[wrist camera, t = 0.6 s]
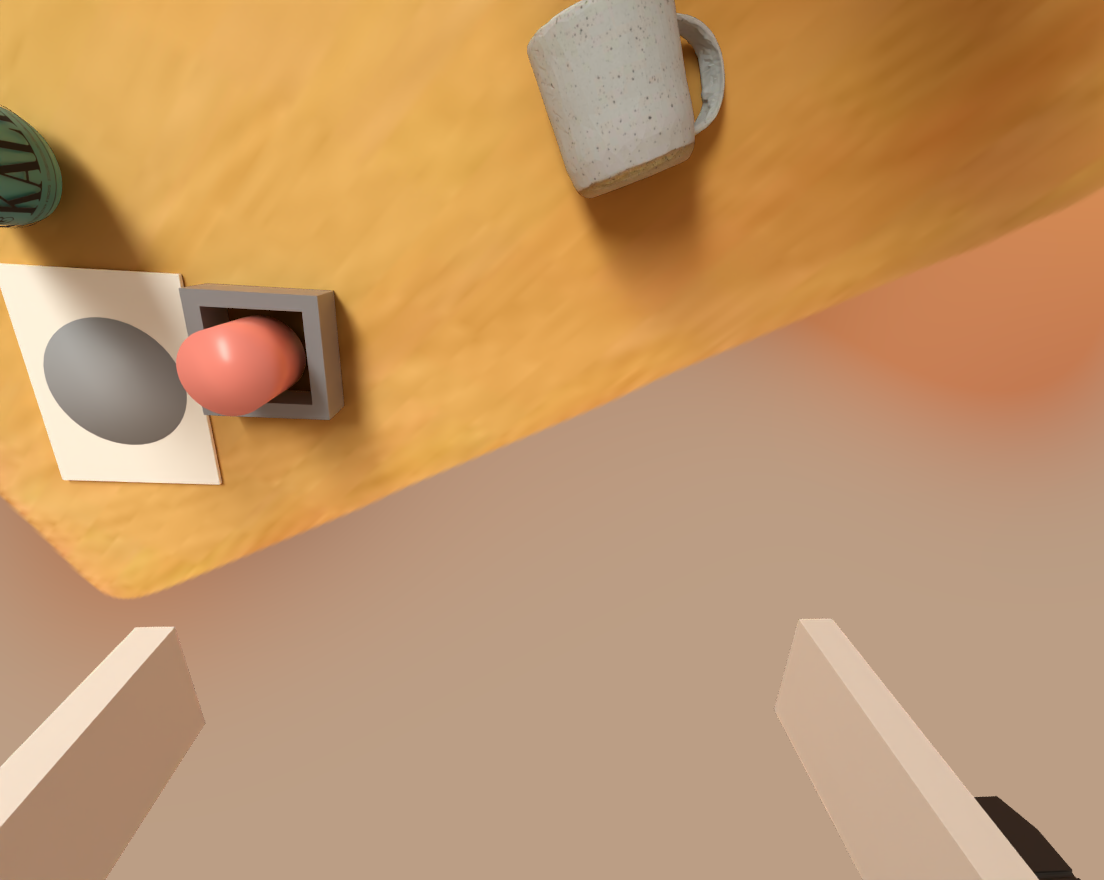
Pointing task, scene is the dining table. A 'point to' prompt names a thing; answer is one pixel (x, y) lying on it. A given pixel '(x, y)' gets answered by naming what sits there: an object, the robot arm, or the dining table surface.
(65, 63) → the dining table surface
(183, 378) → the button
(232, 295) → the button base
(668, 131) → the ceramic mug
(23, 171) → the beverage bottle
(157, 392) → the paper card
